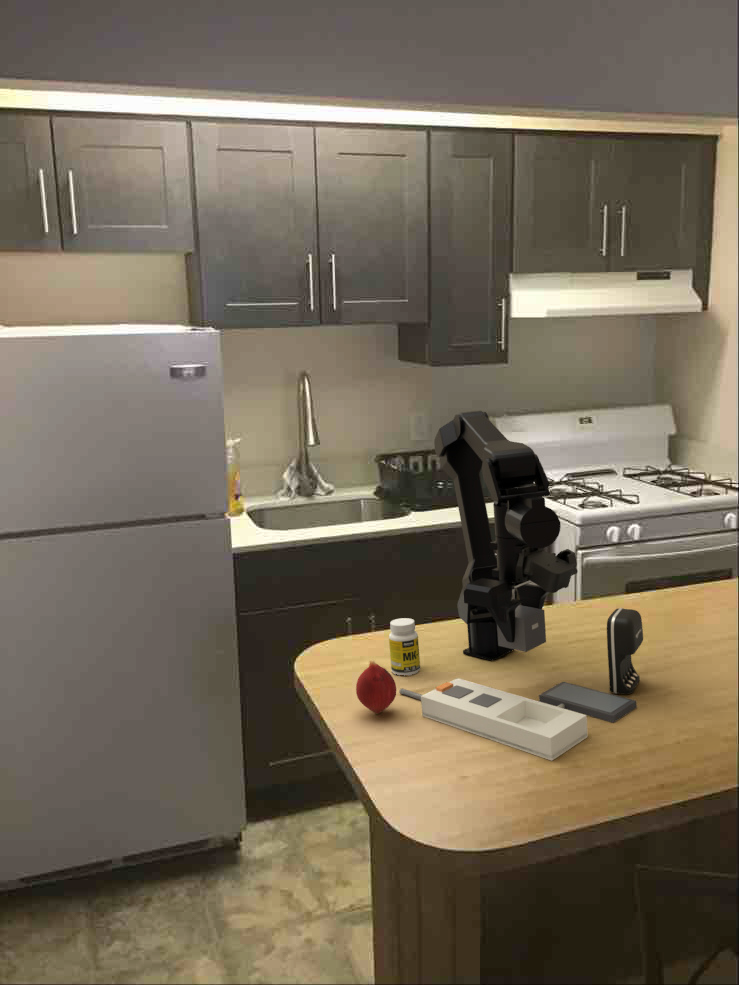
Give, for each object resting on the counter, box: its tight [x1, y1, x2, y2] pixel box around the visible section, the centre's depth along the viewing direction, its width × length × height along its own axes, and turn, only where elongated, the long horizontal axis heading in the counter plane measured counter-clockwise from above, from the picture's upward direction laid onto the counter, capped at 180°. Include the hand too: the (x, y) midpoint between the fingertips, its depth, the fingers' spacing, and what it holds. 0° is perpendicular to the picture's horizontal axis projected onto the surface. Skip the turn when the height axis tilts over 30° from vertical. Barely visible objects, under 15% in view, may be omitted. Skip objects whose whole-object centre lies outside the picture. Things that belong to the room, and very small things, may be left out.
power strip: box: [399, 677, 588, 761], centre depth 117 cm, size 30×8×3 cm, turn 43°
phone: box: [538, 681, 637, 724], centre depth 116 cm, size 12×12×1 cm
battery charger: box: [606, 607, 644, 695], centre depth 122 cm, size 7×4×11 cm, turn 150°
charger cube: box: [497, 604, 547, 653], centre depth 124 cm, size 5×5×5 cm
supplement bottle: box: [388, 617, 421, 677], centre depth 137 cm, size 5×5×8 cm
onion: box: [355, 659, 397, 715], centre depth 121 cm, size 6×6×8 cm
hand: (521, 636), depth 124 cm, fingers closed on charger cube, 5 cm apart
